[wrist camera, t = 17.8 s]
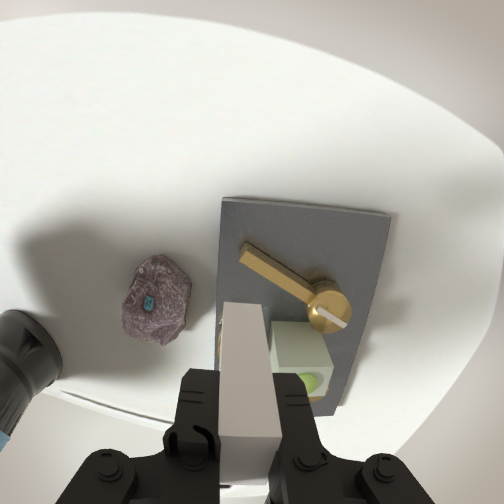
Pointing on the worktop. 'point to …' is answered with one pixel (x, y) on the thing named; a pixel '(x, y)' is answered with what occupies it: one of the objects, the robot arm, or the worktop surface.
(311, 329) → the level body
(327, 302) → the knob
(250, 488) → the worktop surface
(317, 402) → the grey knob board
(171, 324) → the rock
